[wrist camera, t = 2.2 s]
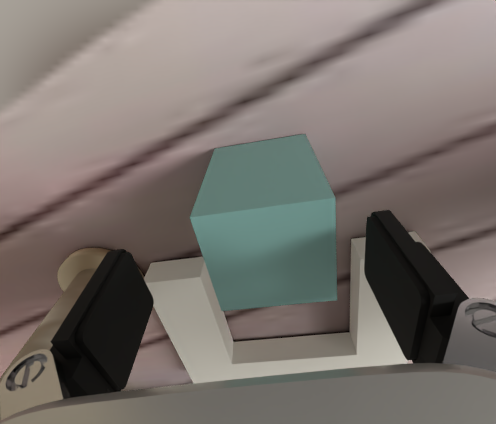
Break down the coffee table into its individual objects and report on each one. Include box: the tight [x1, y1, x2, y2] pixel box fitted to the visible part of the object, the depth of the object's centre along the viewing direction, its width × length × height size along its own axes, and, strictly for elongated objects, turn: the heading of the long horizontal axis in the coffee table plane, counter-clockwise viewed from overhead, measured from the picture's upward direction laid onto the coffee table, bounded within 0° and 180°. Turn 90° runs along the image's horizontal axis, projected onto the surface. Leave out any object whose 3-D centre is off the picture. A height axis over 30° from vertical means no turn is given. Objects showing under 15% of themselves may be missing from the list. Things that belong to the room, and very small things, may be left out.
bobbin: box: [0, 248, 144, 383], centre depth 17 cm, size 6×6×10 cm
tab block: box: [190, 134, 337, 311], centre depth 14 cm, size 5×5×7 cm
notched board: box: [144, 231, 431, 383], centre depth 22 cm, size 18×14×2 cm
